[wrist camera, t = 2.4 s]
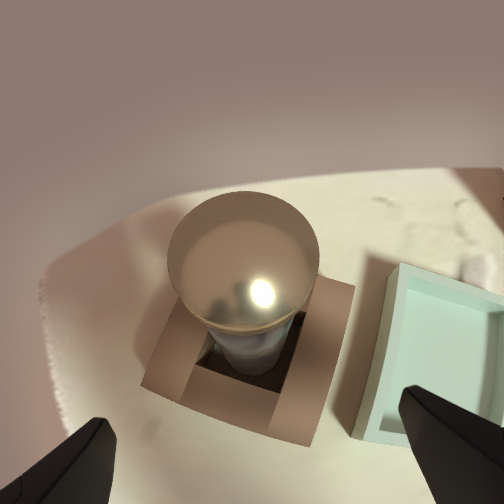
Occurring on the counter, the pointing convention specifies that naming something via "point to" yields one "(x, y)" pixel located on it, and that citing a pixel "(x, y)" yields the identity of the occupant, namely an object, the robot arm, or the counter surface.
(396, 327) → the tray
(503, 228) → the counter surface
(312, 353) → the block
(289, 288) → the pin
